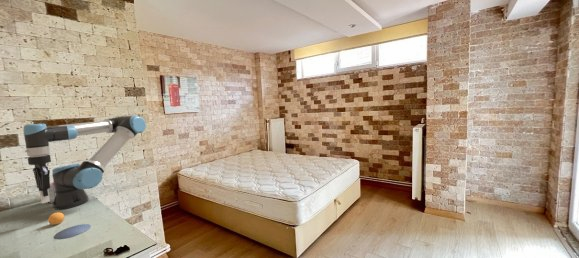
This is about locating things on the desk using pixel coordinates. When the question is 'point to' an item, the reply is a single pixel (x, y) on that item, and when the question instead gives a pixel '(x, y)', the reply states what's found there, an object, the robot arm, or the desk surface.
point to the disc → (72, 231)
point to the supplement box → (52, 192)
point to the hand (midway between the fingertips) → (45, 202)
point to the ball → (56, 218)
